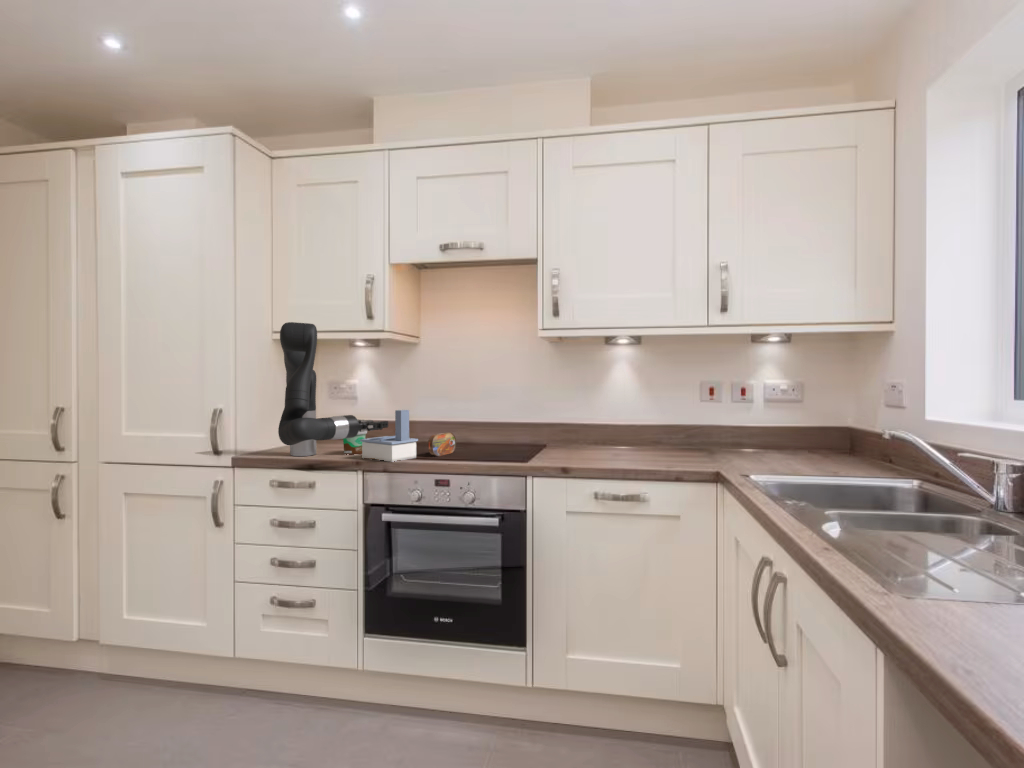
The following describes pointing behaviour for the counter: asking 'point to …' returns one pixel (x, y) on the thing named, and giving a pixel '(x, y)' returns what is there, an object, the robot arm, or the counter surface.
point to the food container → (354, 444)
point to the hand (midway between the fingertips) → (379, 423)
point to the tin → (442, 444)
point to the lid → (396, 431)
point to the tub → (389, 451)
